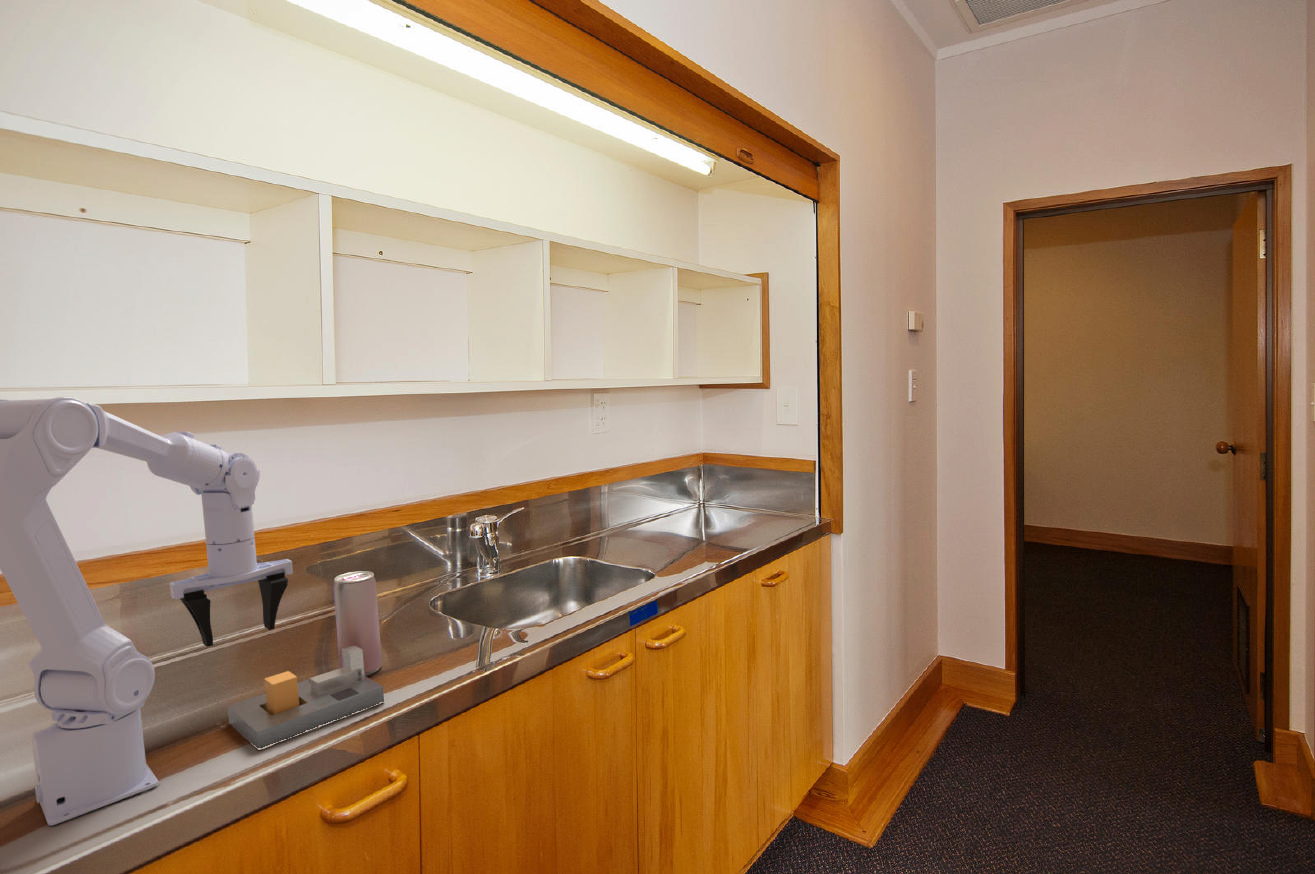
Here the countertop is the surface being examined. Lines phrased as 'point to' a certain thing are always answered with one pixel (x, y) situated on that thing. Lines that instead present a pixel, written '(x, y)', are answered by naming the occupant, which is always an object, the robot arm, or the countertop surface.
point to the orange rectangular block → (281, 692)
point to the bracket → (341, 673)
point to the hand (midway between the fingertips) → (239, 636)
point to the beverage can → (358, 617)
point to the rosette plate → (301, 711)
